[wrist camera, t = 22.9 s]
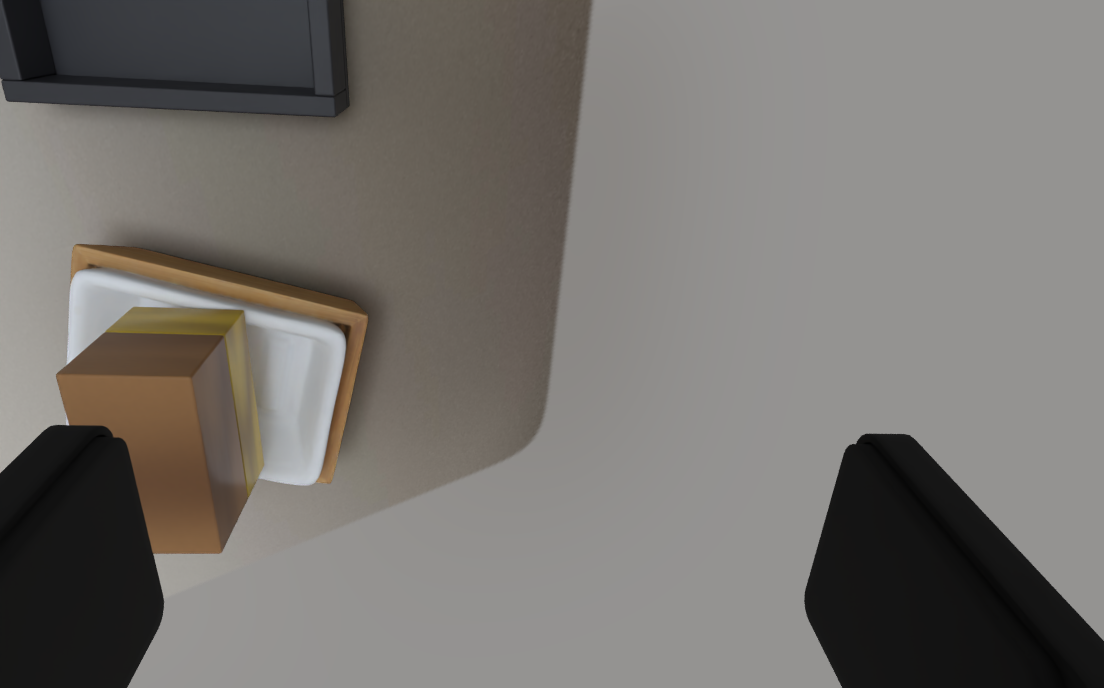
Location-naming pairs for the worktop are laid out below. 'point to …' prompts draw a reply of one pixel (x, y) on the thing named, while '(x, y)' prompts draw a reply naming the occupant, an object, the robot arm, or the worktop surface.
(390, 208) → the worktop surface
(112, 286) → the soap dish
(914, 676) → the robot arm
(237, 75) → the tray
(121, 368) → the scrub brush
